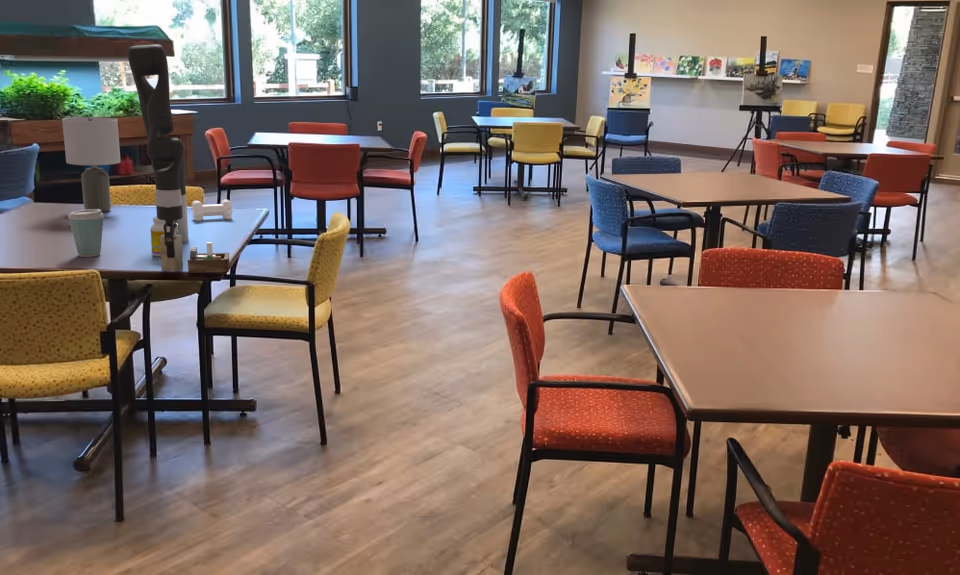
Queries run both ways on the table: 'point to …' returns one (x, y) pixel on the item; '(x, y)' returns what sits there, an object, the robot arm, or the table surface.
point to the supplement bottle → (156, 236)
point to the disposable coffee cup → (87, 231)
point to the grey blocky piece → (194, 255)
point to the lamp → (92, 155)
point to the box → (175, 262)
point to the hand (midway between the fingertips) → (172, 254)
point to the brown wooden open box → (209, 263)
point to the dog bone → (211, 210)
